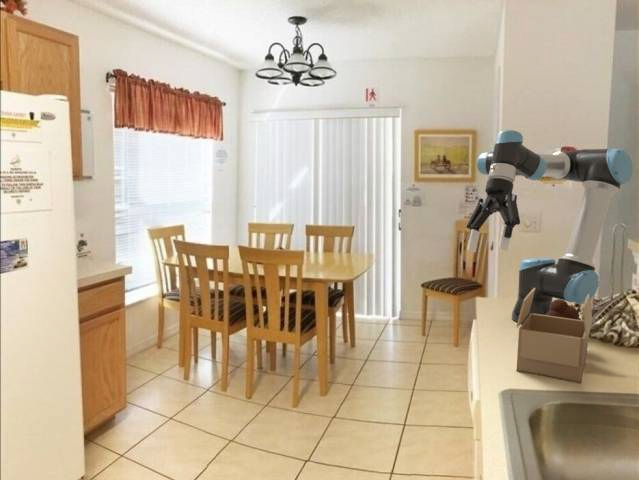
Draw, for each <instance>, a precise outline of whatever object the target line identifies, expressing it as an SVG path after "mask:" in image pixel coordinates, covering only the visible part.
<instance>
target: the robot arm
mask: <svg viewBox="0 0 639 480" xmlns="http://www.w3.org/2000/svg"><path fill="white" fill-rule="evenodd" d="M523 137H524V136H523V134H522V133H521V132H519V131H517V130H514V129H505V130H501V131H499V132H498V133H497V135H496V137H495V138H496V139H495V141H494V144H493V145H494V147H493V151H486V152H485V151H484V152H482V153H481V154H480V155H478V158H477V161H476V168H477V170H478V171H479V173H480V174H482V175H486V176H487V181H486V185H485V190H484V192H485V193H486V198H485V199H484V198H479V199H478V201H477V205H476V207H475V209H474V211H473V213H472V215H471V216H470V219H469V220H468V222H467V224H466V225H465V227H466V229H469V230H470V232H469V236H468V243H467V244H468V245H467V250H466V251H469V252H471V253H477V249H478V244H479V238H480V234H481V231H480V229H481V228H482V226H483V225H484V224H485V222H486V221H487V219H488V218H489V217H490V216H491V215H493V214H494V213H499V214H500V216H501V218H502V220H503V223H502V224H503V225H502V226H501V232H500V237H499V242H498V248H497V249H500V250H503V251H508V250H509V244H510V240H511V238H512V237H513V235H512V234H513V229H514V228H515V226H516V225H518V226H519V225H520V224H521V219H520V214H519V210H518V204H517V203H518V202H517V200H518V199H517V198H518V195H517V194H514V193H513V190H514V183H515V180H516V176H517V177H519V176H521V177H524V178H525V179H526V180H527V179H528V180H531V181H537V180H539V179H541V178H542V177H543V176H545V177H551V178H552V179H556V180H565V181H566V180H567V181H573V182H580V183H581V185H582V186H583V188H584V192H583V195H582V199H581V202H580V204H579V205H580V206H579V207H578V212H577V213H576V214H577V215H576V218H575V221H574V224H573V228H572V231H571V234H570V237H569V241H568V244H567V247H566V251H565V254H564V255H562V256H560V257H559V258H558V260H557V262H556V259H554V258H551V257H550V258H549V257H541V258H540V257H539V258H538V257H535V258H533V257H532V258H524V259H523V260H521V262H520V264H519V265H520V266H519V270H518V274H519V275H518V289H517V290H518V293H517V300H516V301H515V304H514V307H513V310H512V312H511V320H512V321H514V322H515V323H517V322H518V318H519V315H520V311H521V307H522V303H523V300H524V299H525V297H526V296H527V295H528V294H529V293H530V292H531V290H532V289H533V288H536V289H535V292H534V296H533V300H532V304H531V308H530V311H529V314H528V315H527V316H526V318H525V319H524V320H523V322H522V323H521V324H520V325H522V324H523V323H524V321H525V320H526V319H527V317H528V316H529V315H530V314H540V315H546V314H547V312H548V311H550V304H551V303H552V302H553V298H554V299H556V300H558V299H560V300H564V301H566V302H568V303H573V304H584V302H585V300H586V297H587V295H588V294H590V300H591V299H592V298H593V297H595V295H596V293H597V291H598V289H599V286H600V285H599V284H600V281H599V275H598V273H596V272H595V270H596V266H595V264H594V263H593V259H594V257H595V253H596V251H597V246H598V243H599V240H600V238H601V237H600V236H601V234H602V233H601V232H602V230H603V226H604V224H605V223H604V222H605V220H606V217H607V213H608V210H609V207H610V204H611V200H612V197H613V196H614V194H616V193H619V191H620V188H621V185H625V184H627V183H629V182H630V180H631V178H632V177H633V171H634V167H633V165H634V164H633V160H632V157H631V155H630V154H629V153H628V151H626V150H624V149H622V148H612V147H610V148H596V149H595V148H591V149H590V148H588V149H585V148H584V149H583V148H582V149H578V150H577V149H576V150H568V151H556V152H554V153H552V154H551V153H535V151H532V150H531V149H528V147H526V146H525V145H523V143H524V142H523V141H524V140H523V139H524V138H523Z"/></svg>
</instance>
